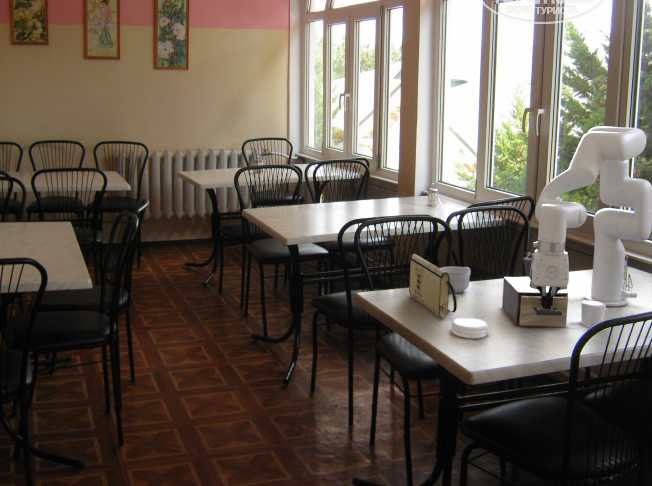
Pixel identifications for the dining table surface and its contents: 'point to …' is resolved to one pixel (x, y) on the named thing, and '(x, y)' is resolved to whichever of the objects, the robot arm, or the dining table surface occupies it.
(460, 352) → the dining table surface
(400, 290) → the dining table surface
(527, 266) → the sundae
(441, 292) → the clutch purse
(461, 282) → the teacup
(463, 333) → the white round disc
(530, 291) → the cabinet
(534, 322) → the drawer
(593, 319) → the white cylinder
